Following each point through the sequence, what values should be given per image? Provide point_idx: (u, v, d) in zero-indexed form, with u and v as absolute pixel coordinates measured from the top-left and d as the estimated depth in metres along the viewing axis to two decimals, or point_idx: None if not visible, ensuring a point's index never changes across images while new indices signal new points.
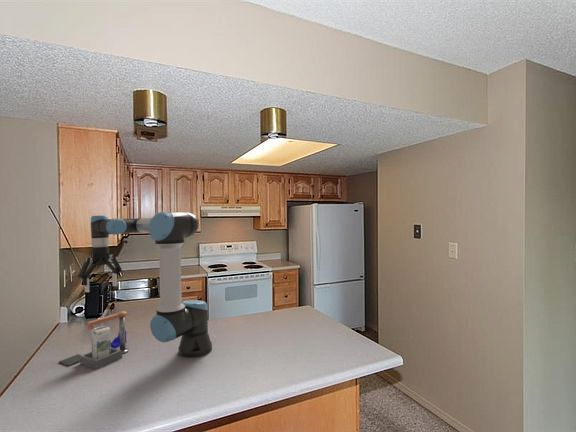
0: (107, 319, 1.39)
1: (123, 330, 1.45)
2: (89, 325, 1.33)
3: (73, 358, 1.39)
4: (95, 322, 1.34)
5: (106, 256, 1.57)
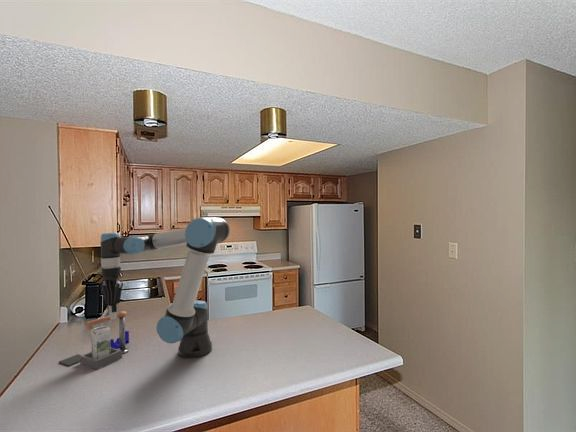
0: (106, 319, 1.39)
1: (123, 330, 1.45)
2: (88, 325, 1.33)
3: (73, 358, 1.39)
4: (94, 322, 1.34)
5: (113, 278, 1.39)
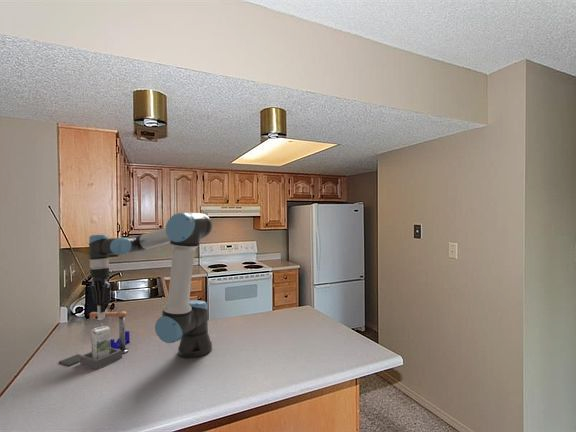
0: None
1: (123, 330, 1.45)
2: None
3: (73, 358, 1.39)
4: (94, 314, 1.46)
5: (101, 279, 1.42)
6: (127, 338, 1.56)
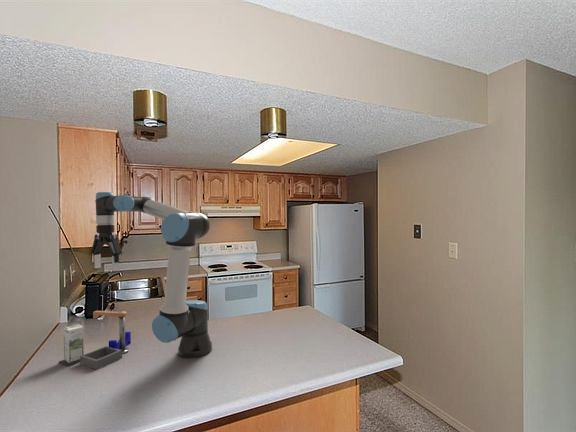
0: (106, 314, 1.47)
1: (123, 330, 1.45)
2: None
3: None
4: (97, 313, 1.48)
5: (106, 235, 1.47)
6: (128, 339, 1.55)
